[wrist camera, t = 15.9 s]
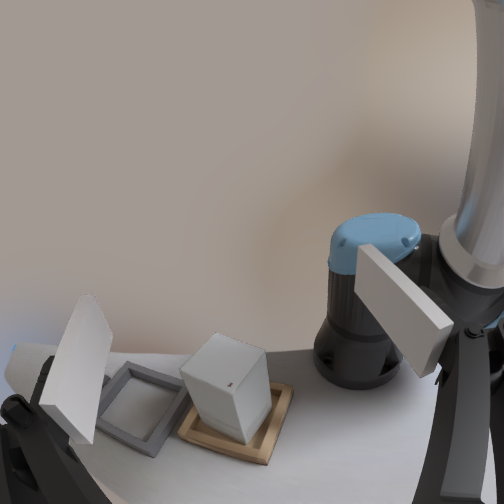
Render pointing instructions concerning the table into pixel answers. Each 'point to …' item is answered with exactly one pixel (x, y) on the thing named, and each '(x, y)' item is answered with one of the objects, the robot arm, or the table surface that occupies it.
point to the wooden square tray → (259, 443)
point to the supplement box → (229, 386)
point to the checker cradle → (166, 422)
